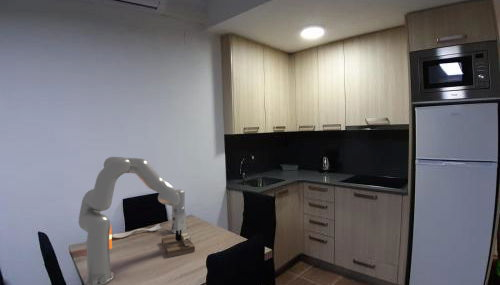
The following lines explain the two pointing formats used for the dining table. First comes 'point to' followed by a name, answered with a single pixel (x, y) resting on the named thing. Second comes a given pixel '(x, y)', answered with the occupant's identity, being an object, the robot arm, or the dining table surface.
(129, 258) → the dining table surface
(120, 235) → the cream wavy strip
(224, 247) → the dining table surface
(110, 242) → the orange juice
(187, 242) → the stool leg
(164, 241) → the wooden tray
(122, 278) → the dining table surface
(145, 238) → the dining table surface
